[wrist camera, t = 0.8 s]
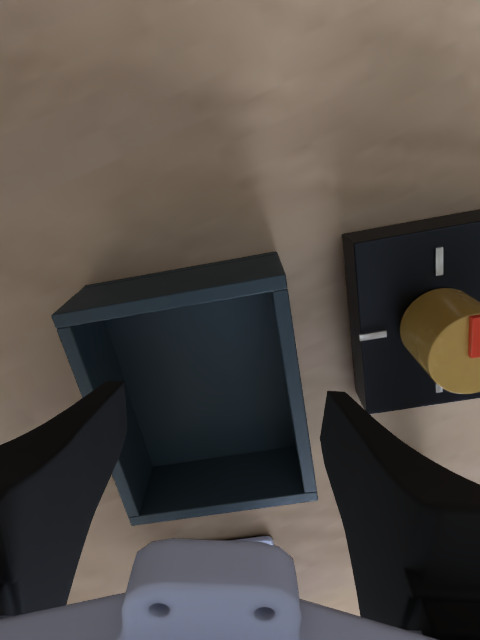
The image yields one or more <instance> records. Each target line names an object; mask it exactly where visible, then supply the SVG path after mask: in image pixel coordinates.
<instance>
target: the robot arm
mask: <svg viewBox="0 0 480 640" xmlns="http://www.w3.org/2000/svg"><path fill="white" fill-rule="evenodd" d="M126 432H127V415H126V398H125V381H109V380H107V381H106V382H104V383H103V384H101V385H100V386H98V387H97V388H96V389H94V390H93V391H92V392H90V393H89V394H88V395H86V396H85V397H83V398H82V399H81V400H79V401H78V402H76V403H75V404H74V405H72V406H71V407H69V408H68V409H66V410H65V411H63V412H62V413H60V414H58V415H57V416H55V417H54V418H52V419H51V420H49V421H47V422H46V423H44V424H42V425H41V426H39V427H37V428H35V429H33V430H31V431H30V432H28V433H26V434H24V435H22V436H20V437H18V438H16V439H13V440H11V441H9V442H6V443H4V444H2V445H0V640H480V485H479V484H477V483H475V482H473V481H470V480H468V479H466V478H464V477H462V476H460V475H458V474H456V473H454V472H452V471H450V470H448V469H446V468H444V467H443V466H441V465H439V464H437V463H435V462H433V461H432V460H430V459H428V458H427V457H425V456H423V455H422V454H420V453H419V452H417V451H416V450H414V449H413V448H411V447H410V446H408V445H407V444H405V443H404V442H403V441H401V440H400V439H399V438H397V437H396V436H395V435H393V434H392V433H391V432H390V431H388V430H387V429H386V428H385V427H383V426H382V425H381V424H380V423H379V422H378V421H376V420H375V419H374V418H373V417H372V416H371V415H370V414H369V413H367V412H366V411H365V410H364V409H363V408H362V407H361V406H360V405H359V404H358V403H357V402H355V401H354V400H353V399H352V398H351V397H350V396H349V395H348V394H347V393H345V392H337V391H327V397H326V404H325V410H324V416H323V423H322V429H321V435H320V441H321V447H322V454H323V459H324V464H325V467H326V471H327V474H328V477H329V480H330V484H331V487H332V490H333V493H334V496H335V499H336V503H337V506H338V509H339V512H340V515H341V518H342V522H343V526H344V530H345V534H346V539H347V544H348V549H349V553H350V558H351V564H352V569H353V575H354V580H355V585H356V591H357V597H358V603H359V609H360V615H361V617H360V616H356V615H353V614H350V613H346V612H343V611H339V610H336V609H333V608H329V607H326V606H323V605H319V604H316V603H312V602H309V601H306V600H302V599H299V592H298V585H297V577H296V571H295V566H294V562H293V558H292V557H291V556H289V555H288V554H287V553H286V552H285V551H283V550H282V549H281V548H280V547H278V546H275V545H274V544H273V540H272V538H271V537H269V536H261V537H253V538H245V539H238V540H230V541H224V540H200V539H175V538H172V539H165V540H159V541H153V542H151V543H150V544H148V545H147V546H145V547H144V548H142V549H141V550H140V551H138V552H137V555H136V558H135V561H134V564H133V567H132V571H131V575H130V579H129V582H128V586H127V590H126V593H121V594H117V595H112V596H107V597H102V598H98V599H93V600H88V601H83V602H79V603H74V604H69V605H66V603H67V600H68V596H69V593H70V589H71V586H72V582H73V579H74V575H75V572H76V569H77V565H78V562H79V559H80V555H81V552H82V549H83V546H84V543H85V539H86V536H87V533H88V530H89V527H90V524H91V521H92V518H93V516H94V513H95V511H96V508H97V506H98V504H99V501H100V499H101V497H102V495H103V492H104V490H105V488H106V486H107V483H108V481H109V479H110V477H111V474H112V472H113V470H114V468H115V465H116V463H117V461H118V458H119V456H120V453H121V450H122V447H123V443H124V440H125V436H126Z"/></svg>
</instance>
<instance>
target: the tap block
mask: <svg viewBox="0 0 480 640" xmlns="http://www.w3.org/2000/svg"><path fill="white" fill-rule="evenodd" d="M342 240H343V252H344V263H345V275H346V286H347V297H348V309H349V320H350V332H351V343H352V354H353V366H354V377H355V389H356V393H357V395H358V397H359V399H360V401H361V403H362V405H363V407H364V409H365V411H366V412H367V413H369V414H374V413H381V412H388V411H394V410H401V409H408V408H414V407H421V406H428V405H435V404H441V403H448V402H455V401H461V400H468V399H475V398H480V392H477V393H472V394H458V393H453V392H450V391H447V390H445V389H443V388H441V387H440V386H439V385H437V384H436V383H435V381H434V380H433V379H432V378H431V377H430V376H429V374H428V373H427V372H426V371H425V370H424V368H423V367H422V366H421V365H420V364H419V363H418V361H417V360H416V359H415V358H414V357H413V356H412V354H411V353H410V352H409V351H408V350H407V348H406V347H405V346H404V344H403V342H402V339H401V336H400V325H401V320H402V317H403V315H404V313H405V311H406V310H407V308H408V307H409V306H410V304H411V303H412V302H413V301H414V300H416V299H417V298H418V297H420V296H421V295H423V294H425V293H427V292H429V291H432V290H435V289H440V288H452V289H457V290H460V291H462V292H464V293H466V294H468V295H469V296H471V297H472V298H474V299H476V300H477V301H479V302H480V209H479V210H473V211H468V212H462V213H457V214H451V215H446V216H440V217H434V218H429V219H423V220H418V221H412V222H407V223H401V224H395V225H390V226H384V227H379V228H373V229H368V230H362V231H357V232H351V233H345V234H342Z"/></svg>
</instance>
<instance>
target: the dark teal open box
mask: <svg viewBox="0 0 480 640" xmlns="http://www.w3.org/2000/svg"><path fill="white" fill-rule="evenodd" d="M51 317H52V319H53V322H54V324H55V327H56V328H57V332H58V335H59V337H60V340H61V343H62V345H63V348H64V350H65V353H66V356H67V358H68V361H69V363H70V366H71V369H72V371H73V374H74V377H75V379H76V382H77V384H78V387H79V390H80V392H81V395H82V397H85V396H86V395H88V394H89V393H90V392H92V391H93V390H94V389H96V388H97V387H98V386H100V385H101V384H103V383H104V382H106V381H107V380H109V381H125V398H126V415H127V432H126V436H125V440H124V443H123V447H122V450H121V453H120V456H119V458H118V461H117V463H116V465H115V468H114V470H113V472H112V476H113V478H114V481H115V484H116V486H117V489H118V492H119V494H120V497H121V499H122V502H123V505H124V507H125V510H126V512H127V515H128V517H129V520H130V523H131V525H132V526H134V525H141V524H149V523H156V522H163V521H171V520H178V519H186V518H193V517H200V516H208V515H215V514H222V513H230V512H237V511H244V510H252V509H259V508H266V507H274V506H281V505H288V504H296V503H303V502H310V501H317V500H318V496H317V489H316V482H315V475H314V468H313V461H312V454H311V447H310V440H309V433H308V426H307V419H306V413H305V406H304V399H303V392H302V385H301V378H300V371H299V364H298V357H297V350H296V344H295V337H294V330H293V323H292V316H291V309H290V302H289V295H288V289H287V281H286V275H285V272H284V270H283V267H282V264H281V261H280V259H279V256H278V253H277V252H270V253H264V254H259V255H253V256H248V257H242V258H236V259H231V260H225V261H220V262H214V263H208V264H203V265H197V266H192V267H186V268H181V269H175V270H169V271H164V272H158V273H153V274H147V275H141V276H136V277H130V278H125V279H119V280H113V281H108V282H102V283H97V284H91V285H86V286H85V287H83V288H82V289H81V290H80V291H79V292H78V293H77V294H75V295H74V296H73V297H72V298H71V299H70V300H68V301H67V302H66V303H65V304H64V305H63V306H62V307H60V308H59V309H58V310H57V311H56V312H55V313H53V314H52V315H51Z"/></svg>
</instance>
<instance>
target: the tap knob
mask: <svg viewBox="0 0 480 640" xmlns="http://www.w3.org/2000/svg"><path fill="white" fill-rule="evenodd" d="M400 336H401V339H402V342H403V344H404V346H405V347H406V348H407V350H408V351H409V352H410V353H411V354H412V356H413V357H414V358H415V359H416V360H417V361H418V363H419V364H420V365H421V366H422V367H423V368H424V370H425V371H426V372H427V373H428V374H429V376H430V377H431V378H432V379H433V380H434V381H435V383H436V384H437V385H439V386H440V387H441V388H443V389H445V390H447V391H450V392H453V393H458V394H472V393H477V392H480V302H479V301H477V300H476V299H474V298H472V297H471V296H469V295H468V294H466V293H464V292H462V291H460V290H457V289H452V288H440V289H435V290H432V291H429V292H427V293H425V294H423V295H421V296H420V297H418V298H417V299H416V300H414V301H413V302H412V303H411V304H410V306H409V307H408V308H407V310H406V311H405V313H404V315H403V317H402V320H401V325H400Z"/></svg>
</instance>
